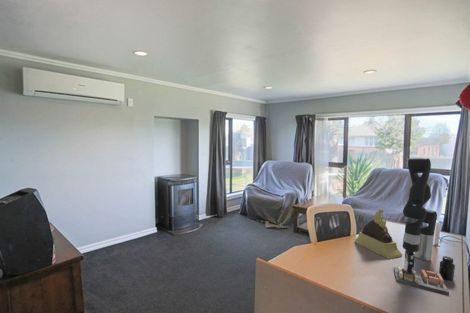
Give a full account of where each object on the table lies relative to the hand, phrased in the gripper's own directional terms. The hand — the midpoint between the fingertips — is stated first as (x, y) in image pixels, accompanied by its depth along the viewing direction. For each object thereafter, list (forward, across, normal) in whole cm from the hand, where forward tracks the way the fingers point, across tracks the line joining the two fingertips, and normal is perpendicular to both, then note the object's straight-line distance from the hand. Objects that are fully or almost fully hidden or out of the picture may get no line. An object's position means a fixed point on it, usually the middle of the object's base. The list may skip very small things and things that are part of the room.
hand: (408, 269), depth 147 cm
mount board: (+6, -2, +6) cm, 9 cm away
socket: (+5, -4, +12) cm, 13 cm away
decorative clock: (+6, -39, -13) cm, 42 cm away
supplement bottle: (+6, -15, +21) cm, 27 cm away
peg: (+5, 0, 0) cm, 5 cm away
